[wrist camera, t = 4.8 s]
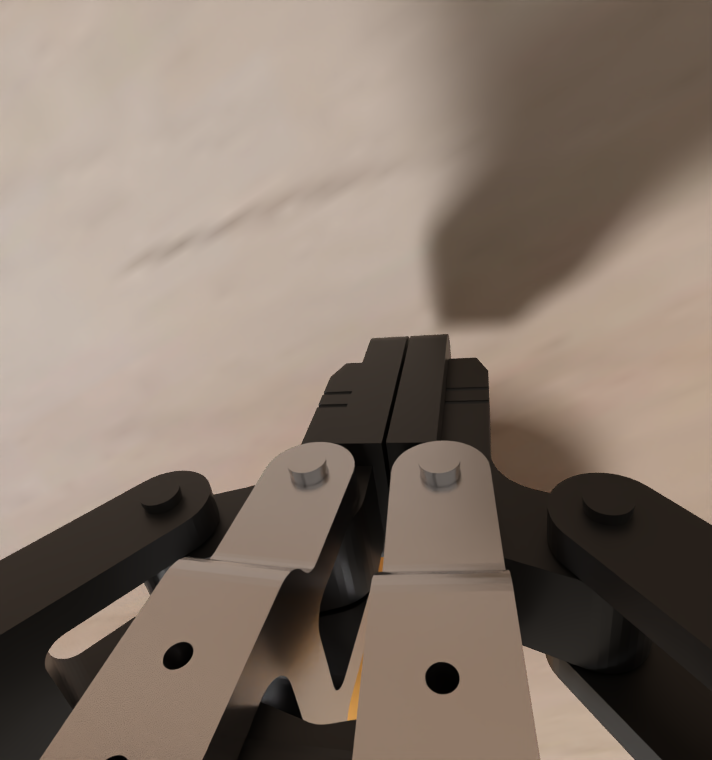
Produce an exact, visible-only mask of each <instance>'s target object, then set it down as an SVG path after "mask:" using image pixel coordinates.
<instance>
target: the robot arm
mask: <svg viewBox="0 0 712 760" xmlns="http://www.w3.org/2000/svg"><path fill="white" fill-rule="evenodd" d="M381 557H384V560H383V570H382V572H378V570H379V565H380V560H381ZM142 583H145V586H146V588H147V590H148V592H149V594H150V597H149V598H148V600H147V601H146V603H145V604H144V606H143V607H142V608H141V610H140V611H139V613H138V614H137V616H136V617H134V618H133V619H131V620H130V621H128V622H127V623H125V624H124V625H122V626H121V627H119V628H118V629H116V630H115V631H113V632H112V633H110V634H109V635H107V636H106V637H104V638H103V639H101V640H100V641H98V642H97V643H95V644H94V645H92V646H91V647H89V648H88V649H87V650H85V651H84V652H82V653H80V654H79V655H77V656H74V657H72V658H68V659H57V658H54V657H52V656H51V655H50V654H49V652H48V651H49V649H50V648H51V646H52V645H53V644H54V642H55V641H56V640H57V639H58V638H60V637H61V636H62V635H64V634H65V633H66V632H68V631H70V630H71V629H73V628H74V627H76V626H77V625H79V624H80V623H82V622H83V621H85V620H87V619H88V618H90V617H91V616H93V615H94V614H96V613H97V612H99V611H101V610H102V609H104V608H105V607H107V606H108V605H110V604H111V603H113V602H114V601H116V600H118V599H119V598H121V597H122V596H124V595H125V594H127V593H128V592H130V591H132V590H133V589H135V588H136V587H138V586H139V585H141V584H142ZM522 645H523V646H526V647H528V648H531V649H534V650H537V651H539V652H542V653H545V654H546V658H547V660H548V663H549V665H550V667H551V668H552V670H553V672H554V673H555V674H556V675H557V677H558V678H559V679H560V680H561V681H562V682H563V683H564V684H565V685H566V686H567V687H568V689H569V690H570V691H571V692H572V693H573V694H574V695H575V696H576V697H577V698H578V699H579V700H580V701H581V702H582V704H583V705H584V706H585V707H586V708H587V709H588V710H589V711H590V712H591V713H592V714H593V715H594V716H595V718H596V719H597V720H598V721H599V722H600V723H601V724H602V725H603V726H604V727H605V728H606V729H607V730H608V731H609V733H610V734H611V735H612V736H613V737H614V738H615V739H616V740H617V741H618V742H619V743H620V744H621V745H622V746H623V748H624V749H625V750H626V751H627V752H628V753H629V754H630V755H631V756H632V757H633V758H634V759H635V760H712V525H711V524H709V523H707V522H706V521H704V520H702V519H701V518H699V517H697V516H696V515H694V514H692V513H691V512H689V511H688V510H686V509H684V508H683V507H681V506H679V505H678V504H676V503H674V502H673V501H671V500H669V499H668V498H666V497H664V496H663V495H661V494H659V493H658V492H656V491H654V490H653V489H651V488H650V487H648V486H646V485H644V484H642V483H640V482H638V481H636V480H633V479H631V478H627V477H624V476H620V475H615V474H609V473H587V474H580V475H577V476H573V477H570V478H568V479H566V480H564V481H562V482H561V483H559V484H558V485H557V486H556V487H555V488H554V489H553V490H552V492H551V493H547V492H543V491H538V490H534V489H531V488H527V487H524V486H522V485H519V484H517V483H515V482H513V481H511V480H509V479H508V478H506V477H505V476H504V475H502V474H501V473H500V472H499V471H498V470H497V468H496V467H495V465H494V464H493V462H492V459H491V432H490V406H489V381H488V370H487V369H486V368H485V367H484V366H483V365H482V363H481V362H480V361H479V360H478V359H477V358H458V359H451V352H450V341H449V335H448V334H442V335H423V336H411V337H410V338H409V337H408V336H406V337H388V338H372V339H371V341H370V343H369V346H368V349H367V352H366V354H365V357H364V360H363V363H347V364H345V365H344V366H343V367H342V368H341V369H340V370H338V371H337V372H336V373H335V374H334V375H332V376H331V378H330V380H329V382H328V384H327V387H326V389H325V391H324V395H323V396H322V398H321V400H320V403H319V408H317V409H316V412H315V414H314V416H313V419H312V421H311V423H310V425H309V428H308V430H307V432H306V435H305V437H304V439H303V441H302V444H301V445H298V446H295V447H292V448H290V449H288V450H286V451H284V452H282V453H281V454H279V455H278V456H276V457H275V458H274V459H273V460H272V461H271V462H270V463H269V464H268V466H267V467H266V469H265V470H264V472H263V474H262V475H261V477H260V478H259V480H258V482H257V483H256V485H254V486H250V487H247V488H242V489H238V490H233V491H229V492H224V493H220V494H215V495H213V493H212V490H211V487H210V484H209V482H208V480H207V479H206V478H205V477H204V476H203V475H201V474H199V473H196V472H192V471H174V472H169V473H165V474H161V475H158V476H156V477H153V478H151V479H149V480H147V481H145V482H143V483H141V484H139V485H137V486H136V487H134V488H132V489H130V490H128V491H126V492H125V493H123V494H121V495H119V496H117V497H115V498H114V499H112V500H110V501H108V502H106V503H105V504H103V505H101V506H99V507H97V508H95V509H94V510H92V511H90V512H88V513H86V514H84V515H83V516H81V517H79V518H77V519H75V520H73V521H72V522H70V523H68V524H66V525H64V526H62V527H61V528H59V529H57V530H55V531H53V532H52V533H50V534H48V535H46V536H44V537H42V538H41V539H39V540H37V541H35V542H33V543H31V544H30V545H28V546H26V547H24V548H22V549H20V550H19V551H17V552H15V553H13V554H11V555H9V556H8V557H6V558H4V559H2V560H0V760H540V755H539V748H538V742H537V736H536V729H535V723H534V717H533V710H532V704H531V698H530V691H529V685H528V679H527V672H526V666H525V660H524V653H523V647H522ZM363 652H364V654H363ZM362 656H363V663H362V672H361V682H360V691H359V701H358V710H357V719H355V720H349V721H347V718H348V710H349V705H350V700H351V697H352V693H353V689H354V685H355V682H356V678H357V674H358V671H359V667H360V663H361V660H362Z"/></svg>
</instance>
